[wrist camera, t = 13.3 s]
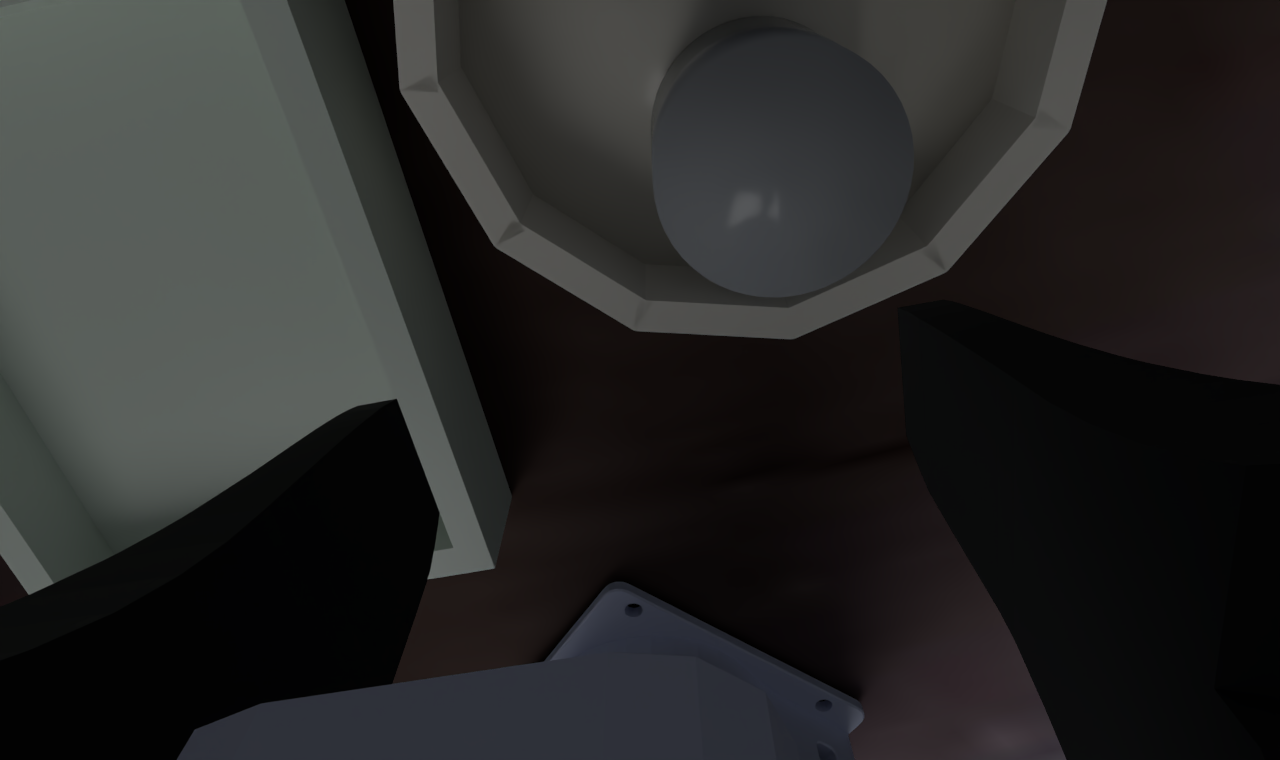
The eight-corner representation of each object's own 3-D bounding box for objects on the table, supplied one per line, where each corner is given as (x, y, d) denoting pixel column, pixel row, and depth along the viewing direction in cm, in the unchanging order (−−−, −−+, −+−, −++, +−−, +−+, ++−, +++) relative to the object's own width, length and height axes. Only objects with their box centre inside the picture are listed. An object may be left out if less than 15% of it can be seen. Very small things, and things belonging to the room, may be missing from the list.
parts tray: (511, 496, 23) (494, 568, 20) (124, 563, 24) (60, 639, 22) (310, -103, 17) (246, -112, 14) (-209, 27, 18) (-360, 42, 15)
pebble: (903, 100, 17) (969, 141, 14) (770, 265, 19) (800, 340, 16) (735, -32, 16) (760, -24, 13) (610, 156, 18) (602, 209, 14)
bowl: (1173, -97, 17) (1275, -106, 14) (785, 372, 21) (805, 433, 19) (647, -586, 13) (647, -717, 11) (332, 92, 18) (278, 117, 16)
